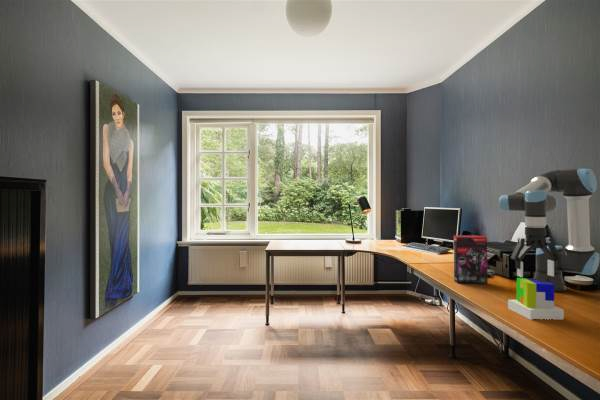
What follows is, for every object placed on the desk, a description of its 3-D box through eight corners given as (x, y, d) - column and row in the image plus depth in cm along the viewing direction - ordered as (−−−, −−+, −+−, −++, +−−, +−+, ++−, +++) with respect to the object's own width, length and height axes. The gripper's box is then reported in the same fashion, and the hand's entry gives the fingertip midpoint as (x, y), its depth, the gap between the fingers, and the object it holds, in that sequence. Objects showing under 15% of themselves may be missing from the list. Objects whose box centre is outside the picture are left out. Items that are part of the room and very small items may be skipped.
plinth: (538, 308, 153) (538, 299, 153) (563, 319, 139) (563, 309, 139) (508, 308, 152) (508, 299, 152) (530, 319, 138) (530, 310, 138)
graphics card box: (456, 283, 196) (456, 236, 196) (452, 280, 203) (453, 234, 203) (488, 284, 194) (488, 236, 194) (483, 281, 201) (483, 235, 201)
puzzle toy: (554, 308, 140) (554, 284, 140) (527, 307, 142) (527, 283, 141) (541, 301, 149) (541, 278, 149) (516, 300, 151) (516, 277, 151)
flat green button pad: (465, 270, 234) (465, 263, 234) (495, 274, 222) (495, 267, 222) (458, 274, 220) (458, 267, 220) (489, 279, 208) (490, 271, 208)
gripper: (556, 225, 149) (556, 273, 150) (501, 226, 148) (501, 274, 149) (571, 226, 142) (570, 277, 142) (512, 227, 141) (512, 278, 141)
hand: (535, 276), depth 146 cm, fingers open, 13 cm apart
